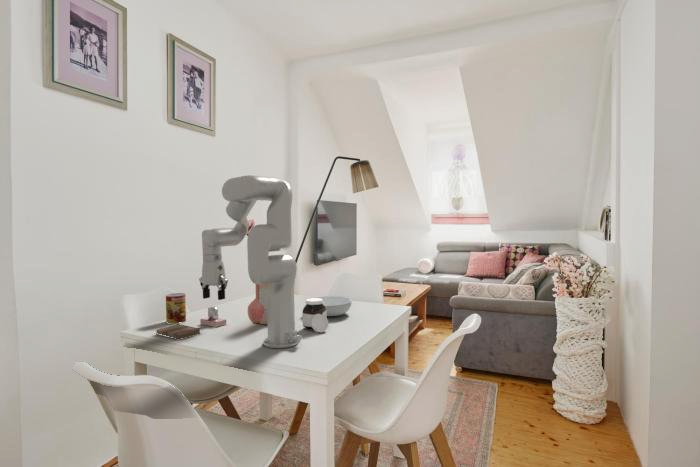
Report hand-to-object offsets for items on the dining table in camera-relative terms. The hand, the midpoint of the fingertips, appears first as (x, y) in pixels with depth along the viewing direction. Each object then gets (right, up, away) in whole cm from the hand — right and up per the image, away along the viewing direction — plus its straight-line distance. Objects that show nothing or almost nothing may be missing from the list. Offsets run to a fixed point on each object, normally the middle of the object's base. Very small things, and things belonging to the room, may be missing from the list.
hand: (214, 298), depth 164 cm
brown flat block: (-9, -12, -13) cm, 20 cm away
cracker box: (+24, -11, +6) cm, 27 cm away
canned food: (-19, -11, +7) cm, 23 cm away
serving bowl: (+48, -11, +16) cm, 52 cm away
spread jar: (+45, -11, -8) cm, 47 cm away
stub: (-1, -11, +1) cm, 11 cm away
